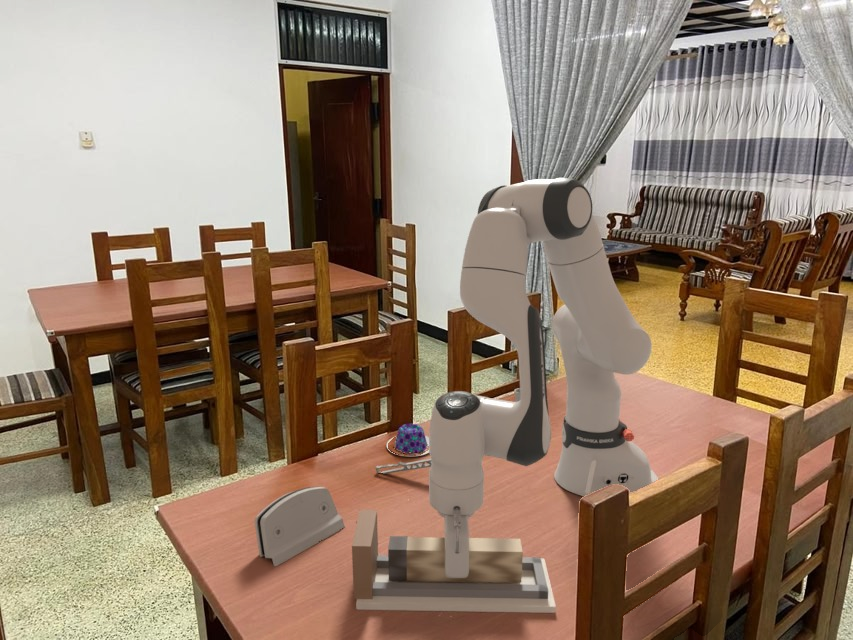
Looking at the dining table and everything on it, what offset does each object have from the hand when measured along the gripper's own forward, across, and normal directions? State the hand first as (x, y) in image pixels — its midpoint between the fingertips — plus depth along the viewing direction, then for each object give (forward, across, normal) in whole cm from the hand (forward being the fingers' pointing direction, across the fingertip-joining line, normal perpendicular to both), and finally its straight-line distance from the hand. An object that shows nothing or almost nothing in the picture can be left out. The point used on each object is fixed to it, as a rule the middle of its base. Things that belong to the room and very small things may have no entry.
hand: (455, 564), depth 107 cm
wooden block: (+2, 0, 0) cm, 2 cm away
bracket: (+5, +35, +6) cm, 36 cm away
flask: (+5, +62, -18) cm, 65 cm away
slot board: (+4, 0, 0) cm, 4 cm away
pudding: (+5, +50, +10) cm, 51 cm away
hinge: (+5, +13, +29) cm, 32 cm away
